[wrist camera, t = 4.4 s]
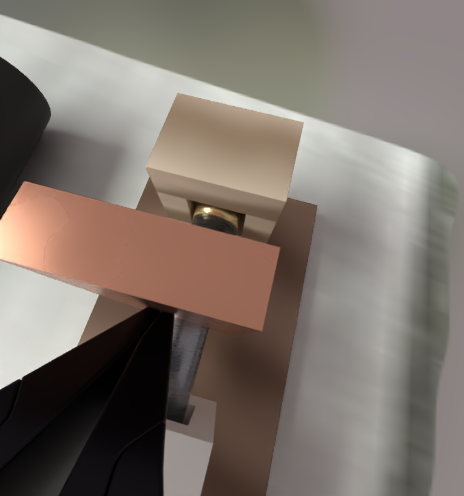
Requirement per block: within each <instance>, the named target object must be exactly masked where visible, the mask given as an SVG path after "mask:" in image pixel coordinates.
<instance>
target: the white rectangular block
mask: <svg viewBox="0 0 464 496" xmlns="http://www.w3.org/2000/svg"><path fill="white" fill-rule="evenodd" d="M216 405H217V402H214V401H211V400H207V399H204V398H201V397H197V396H194V395H190V399H189V402H188V406H187V410H186V413H185V417H184V420H183V424H181V423H178V422H174V421H171V420H167V419H166V433H165V449H164V496H200V495H201V491H202V487H203V483H204V479H205V475H206V471H207V467H208V463H209V458H210V454H211V450H212V446H213V439H214V427H215V416H216Z"/></svg>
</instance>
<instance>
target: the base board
mask: <svg viewBox="0 0 464 496" xmlns="http://www.w3.org/2000/svg"><path fill="white" fill-rule="evenodd" d="M136 210H138V211H142V212H146V213H150V214H154V215H157V216H161V217H165V218H168V216H167V214H166V211H165V209H164V207H163V205H162V202H161V200H160V198H159V196H158V194H157V191H156V189H155V187H154V185H153V182H152V180H151V178H150V177H149V180H148V182H147V184H146V187H145V189H144V191H143V194H142V196H141V198H140V201H139V203H138V205H137V208H136ZM316 211H317V205H314V204H310V203H306V202H302V201H298V200H294V199H290V198H287V200H286V203H285V205H284V207H283V209H282V212H281V214H280V216H279V218H278V220H277V222H276V224H275V226H274V229H273V231H272V233H271V235H270V237H269V239H268V241H267V243H266V244H269V245H273V246H277V247H280V251H279V256H278V260H277V265H276V269H275V274H274V279H273V283H272V288H271V292H270V297H269V302H268V306H267V311H266V315H265V320H264V325H263V329H262V331H261V332H254V333H248V334H241V335H231V334H228V333H224V332H220V331H217V330H213V329H210V328H209V331H208V335H207V338H206V342H205V345H204V349H203V352H202V356H201V360H200V363H199V367H198V370H197V374H196V377H195V381H194V385H193V388H192V392H191V395H194V396H197V397H201V398H204V399H207V400H211V401H214V402H217V405H216V416H215V427H214V439H213V446H212V450H211V454H210V458H209V463H208V467H207V471H206V475H205V479H204V483H203V487H202V491H201V495H200V496H266V490H267V485H268V479H269V473H270V468H271V462H272V457H273V451H274V445H275V440H276V434H277V429H278V423H279V417H280V412H281V406H282V401H283V395H284V389H285V384H286V378H287V373H288V367H289V361H290V356H291V350H292V345H293V339H294V334H295V328H296V322H297V317H298V311H299V306H300V300H301V294H302V289H303V283H304V278H305V272H306V266H307V261H308V255H309V250H310V244H311V238H312V233H313V227H314V222H315V216H316ZM141 310H142V309H139V308H136V307H133V306H131V305H128V304H125V303H122V302H119V301H116V300H113V299H110V298H108V297H105V296H102V295H99V297H98V299H97V301H96V304H95V306H94V308H93V311H92V313H91V315H90V318H89V320H88V322H87V325H86V327H85V329H84V332H83V334H82V336H81V339H80V341H79V343H78V346H79V345H80V344H82V343H84V342H86V341H87V340H89V339H91V338H93V337H95V336H96V335H98V334H100V333H102V332H103V331H105V330H107V329H109V328H110V327H112V326H114V325H116V324H118V323H119V322H121V321H123V320H125V319H126V318H128V317H130V316H132V315H134V314H135V313H137V312H139V311H141Z"/></svg>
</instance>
